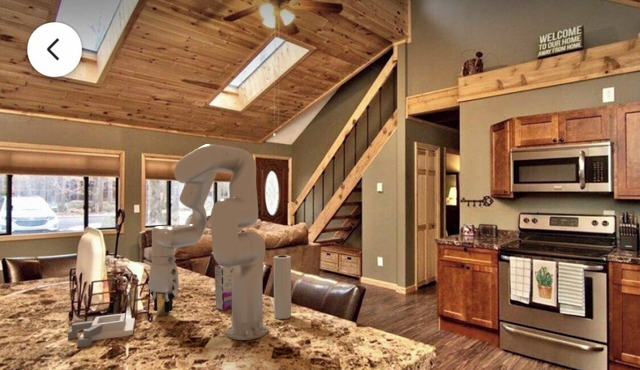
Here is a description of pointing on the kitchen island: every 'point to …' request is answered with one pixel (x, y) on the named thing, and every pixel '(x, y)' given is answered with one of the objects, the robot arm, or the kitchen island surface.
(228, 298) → the candy bar box
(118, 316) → the shaft stand
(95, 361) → the kitchen island surface
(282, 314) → the paper towel roll
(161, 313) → the gold rounded cylinder
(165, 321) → the kitchen island surface
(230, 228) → the robot arm
